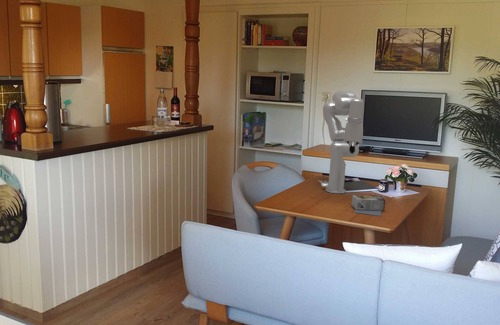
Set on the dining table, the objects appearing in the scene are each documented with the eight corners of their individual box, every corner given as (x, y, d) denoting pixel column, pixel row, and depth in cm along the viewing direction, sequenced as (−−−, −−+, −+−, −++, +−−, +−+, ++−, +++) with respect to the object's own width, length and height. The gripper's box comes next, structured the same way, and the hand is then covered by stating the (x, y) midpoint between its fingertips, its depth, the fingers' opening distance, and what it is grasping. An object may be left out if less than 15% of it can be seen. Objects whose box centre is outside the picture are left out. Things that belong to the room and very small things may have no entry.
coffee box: (352, 194, 291) (380, 195, 292) (351, 205, 292) (379, 206, 294) (357, 198, 282) (385, 199, 283) (355, 210, 283) (384, 210, 285)
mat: (353, 212, 280) (354, 212, 280) (356, 206, 293) (356, 205, 293) (380, 216, 276) (380, 215, 276) (382, 209, 289) (382, 208, 289)
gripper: (340, 120, 289) (337, 152, 293) (367, 122, 285) (364, 155, 289) (342, 119, 296) (339, 150, 300) (369, 121, 292) (365, 153, 296)
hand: (351, 153), depth 294 cm, fingers closed
